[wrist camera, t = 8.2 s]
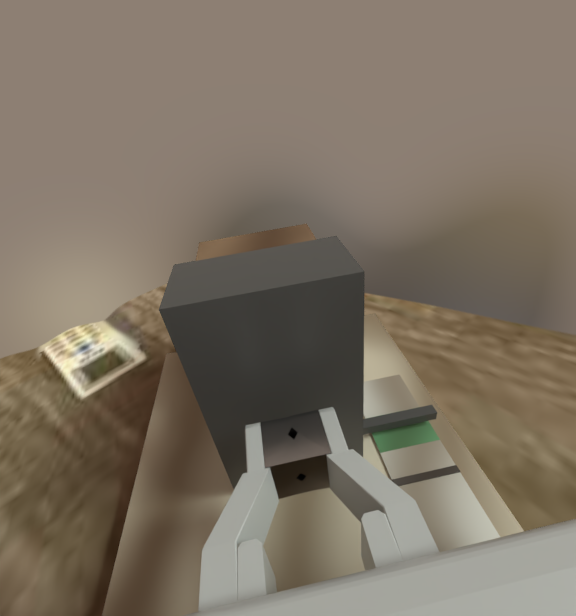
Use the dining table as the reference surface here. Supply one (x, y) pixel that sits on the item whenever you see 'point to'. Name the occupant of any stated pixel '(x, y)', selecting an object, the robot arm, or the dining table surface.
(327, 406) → the peg
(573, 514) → the dining table surface
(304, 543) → the board
